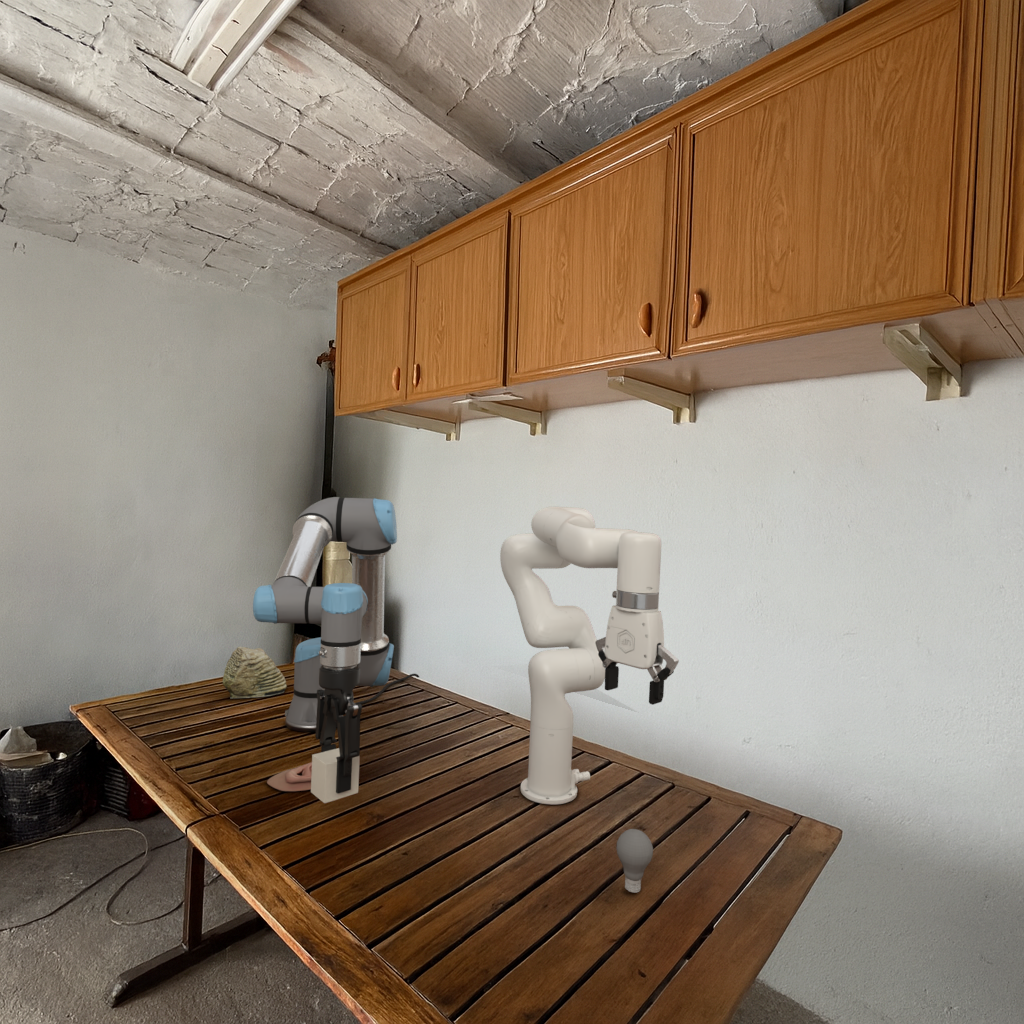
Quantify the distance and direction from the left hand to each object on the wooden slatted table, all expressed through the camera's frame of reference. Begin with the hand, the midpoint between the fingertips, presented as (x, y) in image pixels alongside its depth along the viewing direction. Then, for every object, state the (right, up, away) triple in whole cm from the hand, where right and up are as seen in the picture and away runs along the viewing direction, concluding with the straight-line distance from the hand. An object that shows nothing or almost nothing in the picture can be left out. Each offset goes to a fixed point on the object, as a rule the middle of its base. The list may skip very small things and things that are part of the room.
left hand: (335, 784), depth 122 cm
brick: (0, -2, 0) cm, 2 cm away
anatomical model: (-13, -7, +19) cm, 24 cm away
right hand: (+56, +19, -8) cm, 59 cm away
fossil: (-47, -5, +76) cm, 90 cm away
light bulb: (+54, -11, -16) cm, 58 cm away
